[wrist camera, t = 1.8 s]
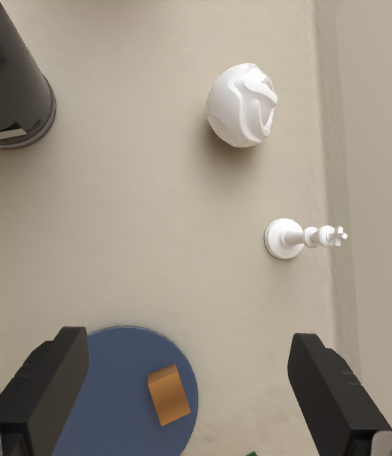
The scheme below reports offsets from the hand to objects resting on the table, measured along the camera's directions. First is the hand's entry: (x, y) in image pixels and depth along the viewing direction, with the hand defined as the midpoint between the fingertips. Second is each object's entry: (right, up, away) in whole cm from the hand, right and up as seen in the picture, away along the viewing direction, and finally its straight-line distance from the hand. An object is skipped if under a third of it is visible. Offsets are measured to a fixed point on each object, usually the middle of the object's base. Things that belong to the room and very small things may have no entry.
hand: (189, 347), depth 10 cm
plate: (-8, -13, +17) cm, 23 cm away
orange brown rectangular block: (-3, -12, +17) cm, 21 cm away
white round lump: (+4, +17, +22) cm, 28 cm away
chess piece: (+11, +3, +22) cm, 25 cm away
